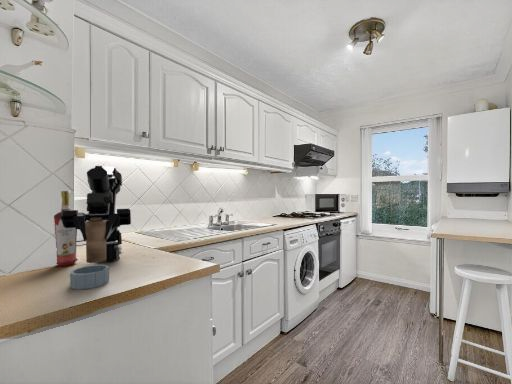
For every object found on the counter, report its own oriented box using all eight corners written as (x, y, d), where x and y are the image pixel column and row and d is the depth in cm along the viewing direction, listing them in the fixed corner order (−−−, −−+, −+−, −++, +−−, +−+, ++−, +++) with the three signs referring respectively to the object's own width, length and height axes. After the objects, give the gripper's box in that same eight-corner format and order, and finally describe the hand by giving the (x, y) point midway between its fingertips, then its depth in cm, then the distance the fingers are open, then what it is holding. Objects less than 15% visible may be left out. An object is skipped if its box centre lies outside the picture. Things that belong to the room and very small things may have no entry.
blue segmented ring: (62, 290, 74) (62, 275, 74) (83, 278, 84) (83, 265, 84) (98, 289, 75) (97, 274, 75) (114, 277, 85) (114, 264, 85)
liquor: (79, 261, 105) (78, 190, 105) (76, 265, 99) (75, 191, 99) (57, 263, 102) (55, 191, 102) (52, 268, 96) (51, 191, 95)
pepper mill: (82, 261, 79) (81, 218, 79) (98, 257, 84) (97, 216, 83) (94, 263, 77) (93, 219, 77) (110, 259, 82) (109, 217, 81)
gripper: (61, 183, 80) (50, 224, 70) (130, 184, 87) (128, 221, 77) (68, 208, 87) (59, 248, 77) (131, 206, 95) (130, 242, 85)
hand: (95, 239), depth 79 cm, fingers closed on pepper mill, 5 cm apart
